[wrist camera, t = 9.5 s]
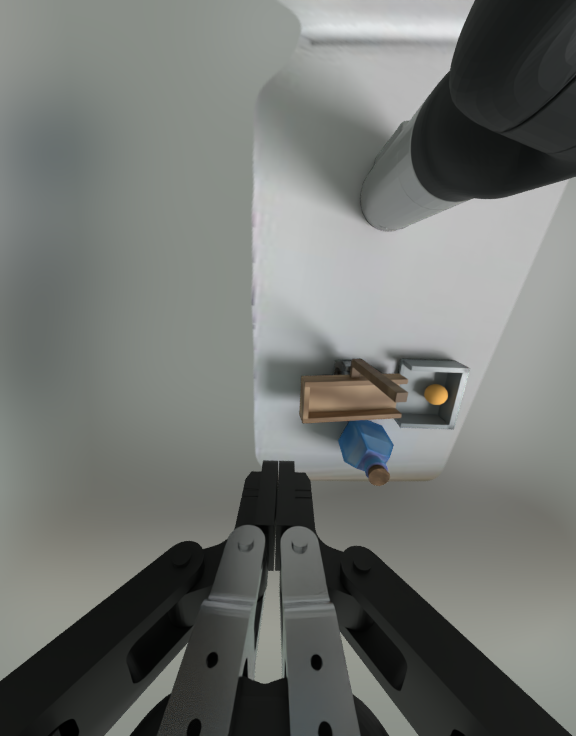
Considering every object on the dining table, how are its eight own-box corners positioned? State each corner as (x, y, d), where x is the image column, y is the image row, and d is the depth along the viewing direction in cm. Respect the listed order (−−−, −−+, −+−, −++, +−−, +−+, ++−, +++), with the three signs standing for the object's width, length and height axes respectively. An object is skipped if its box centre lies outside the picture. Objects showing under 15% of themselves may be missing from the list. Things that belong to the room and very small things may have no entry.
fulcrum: (334, 359, 47) (337, 365, 44) (363, 360, 47) (368, 366, 44) (329, 411, 51) (332, 419, 48) (356, 412, 51) (361, 420, 48)
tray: (400, 358, 47) (410, 366, 43) (455, 360, 47) (470, 368, 43) (390, 416, 51) (398, 427, 47) (441, 418, 51) (453, 429, 47)
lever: (302, 357, 42) (330, 395, 29) (402, 356, 45) (468, 390, 32) (299, 414, 46) (323, 472, 32) (392, 410, 49) (449, 461, 35)
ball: (425, 379, 49) (427, 386, 45) (448, 383, 48) (452, 390, 44) (421, 397, 50) (423, 406, 47) (443, 401, 49) (447, 410, 46)
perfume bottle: (381, 425, 52) (407, 468, 40) (366, 451, 53) (387, 498, 42) (352, 414, 51) (370, 454, 39) (338, 440, 53) (351, 486, 41)
